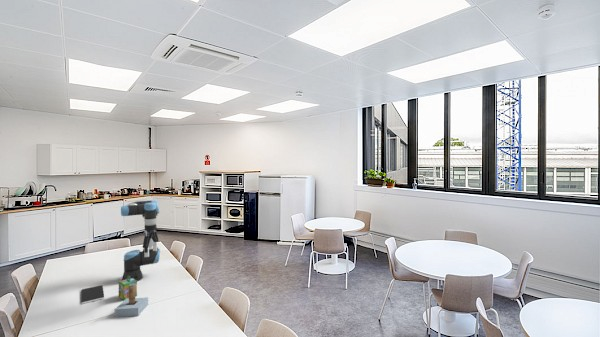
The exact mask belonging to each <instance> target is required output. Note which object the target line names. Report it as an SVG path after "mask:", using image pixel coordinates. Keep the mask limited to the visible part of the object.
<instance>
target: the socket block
mask: <svg viewBox="0 0 600 337" xmlns="http://www.w3.org/2000/svg"><path fill="white" fill-rule="evenodd" d="M148 306H149V297H135V305H129V298H128V299H125V300H124V301H123V300H122V302H121V303H120V304H119V305H118V306H117V307H116V308H114V317H115V318H121V317H122V318H123V317H124V318H125V317H139V316H140V315H141V313H142V312H143V311H144V310H145V309H146V308H147V307H148Z"/></svg>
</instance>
